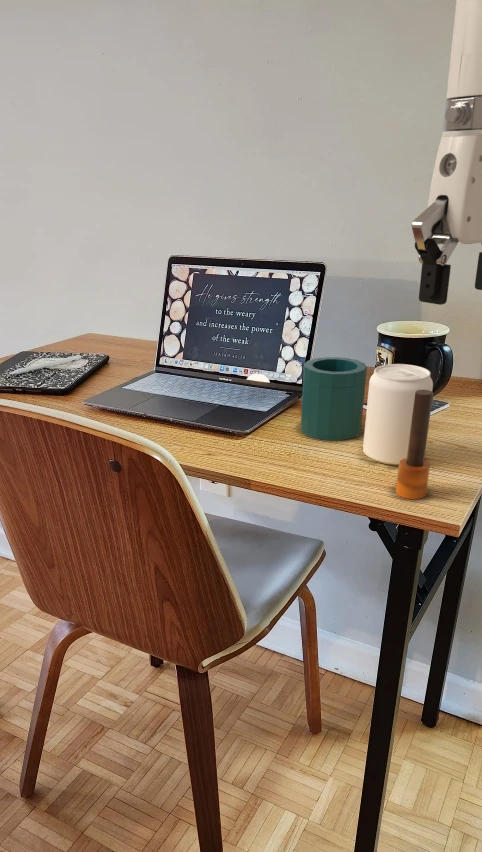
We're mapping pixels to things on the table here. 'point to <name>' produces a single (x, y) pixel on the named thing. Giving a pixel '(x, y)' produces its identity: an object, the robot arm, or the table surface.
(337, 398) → the jar
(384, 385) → the beverage can
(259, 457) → the table surface
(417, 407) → the brown and orange pestle
